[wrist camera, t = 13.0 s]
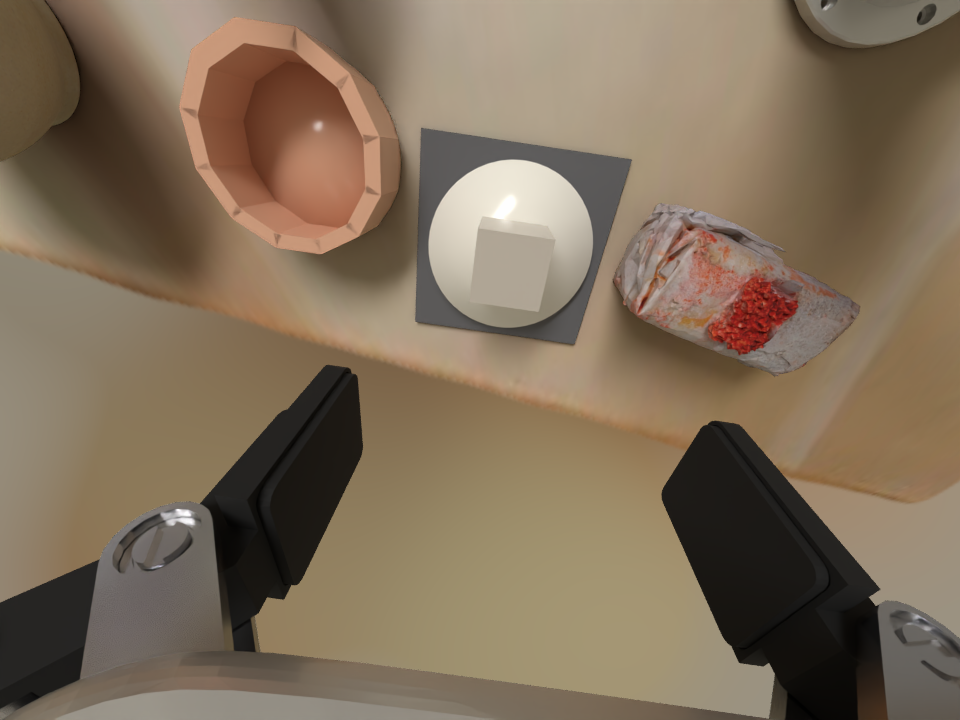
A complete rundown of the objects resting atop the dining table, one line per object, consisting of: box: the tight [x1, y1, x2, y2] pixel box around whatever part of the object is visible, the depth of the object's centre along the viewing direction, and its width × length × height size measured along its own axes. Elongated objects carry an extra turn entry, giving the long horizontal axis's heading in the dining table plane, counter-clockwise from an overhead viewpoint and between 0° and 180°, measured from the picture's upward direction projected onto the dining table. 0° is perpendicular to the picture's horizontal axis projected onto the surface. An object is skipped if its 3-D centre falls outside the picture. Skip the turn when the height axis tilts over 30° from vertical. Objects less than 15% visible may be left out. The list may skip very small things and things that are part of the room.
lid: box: [429, 159, 593, 328], centre depth 25 cm, size 13×13×6 cm
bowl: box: [179, 17, 401, 254], centre depth 23 cm, size 12×12×5 cm
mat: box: [415, 128, 632, 344], centre depth 28 cm, size 15×15×1 cm
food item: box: [613, 203, 860, 376], centre depth 24 cm, size 14×8×10 cm, turn 70°
